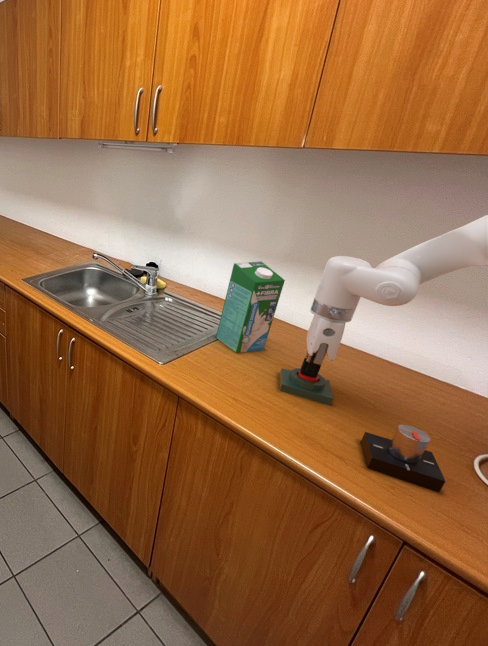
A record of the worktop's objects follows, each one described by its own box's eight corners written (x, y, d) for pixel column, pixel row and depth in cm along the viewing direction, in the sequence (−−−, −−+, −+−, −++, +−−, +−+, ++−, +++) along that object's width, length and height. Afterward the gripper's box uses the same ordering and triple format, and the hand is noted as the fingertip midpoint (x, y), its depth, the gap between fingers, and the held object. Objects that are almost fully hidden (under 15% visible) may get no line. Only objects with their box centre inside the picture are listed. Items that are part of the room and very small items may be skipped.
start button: (316, 378, 99) (318, 373, 99) (317, 387, 96) (319, 381, 96) (296, 373, 102) (298, 368, 101) (297, 381, 98) (299, 376, 98)
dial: (384, 442, 80) (395, 420, 78) (414, 451, 78) (427, 429, 75) (390, 457, 77) (401, 434, 74) (421, 467, 74) (434, 444, 72)
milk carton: (236, 353, 115) (258, 274, 106) (215, 337, 123) (233, 262, 114) (264, 350, 116) (287, 272, 107) (241, 334, 125) (261, 260, 115)
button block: (326, 387, 101) (331, 374, 99) (330, 405, 94) (335, 392, 93) (279, 374, 106) (283, 362, 104) (279, 391, 100) (284, 378, 98)
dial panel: (425, 462, 79) (432, 450, 78) (439, 494, 72) (446, 482, 71) (359, 441, 84) (365, 430, 83) (367, 469, 78) (373, 457, 76)
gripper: (359, 327, 84) (330, 396, 91) (348, 301, 95) (324, 364, 102) (314, 318, 87) (290, 385, 95) (309, 293, 99) (288, 355, 106)
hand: (308, 374), depth 98 cm, fingers closed
